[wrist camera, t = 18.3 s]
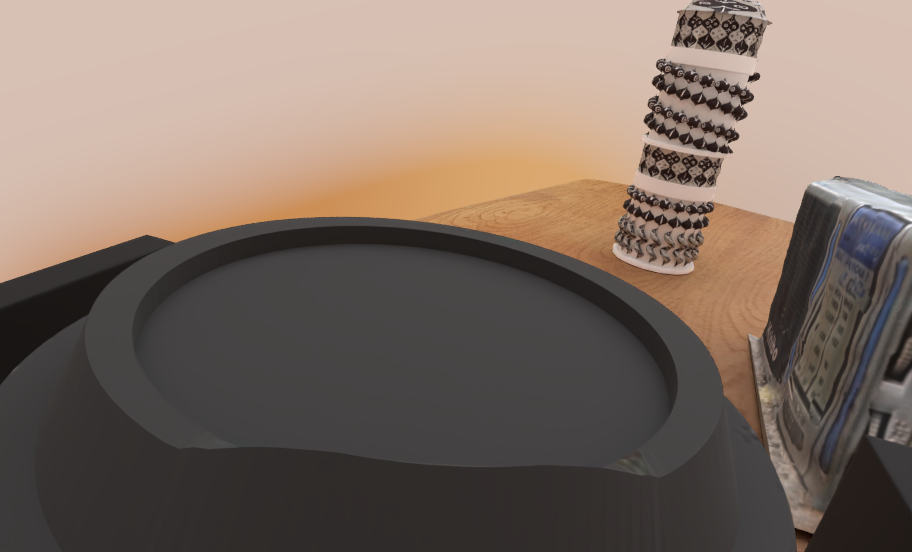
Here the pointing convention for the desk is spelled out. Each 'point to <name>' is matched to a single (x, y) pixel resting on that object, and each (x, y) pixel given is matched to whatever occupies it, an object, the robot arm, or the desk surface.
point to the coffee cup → (378, 406)
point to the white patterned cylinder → (690, 132)
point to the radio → (837, 340)
